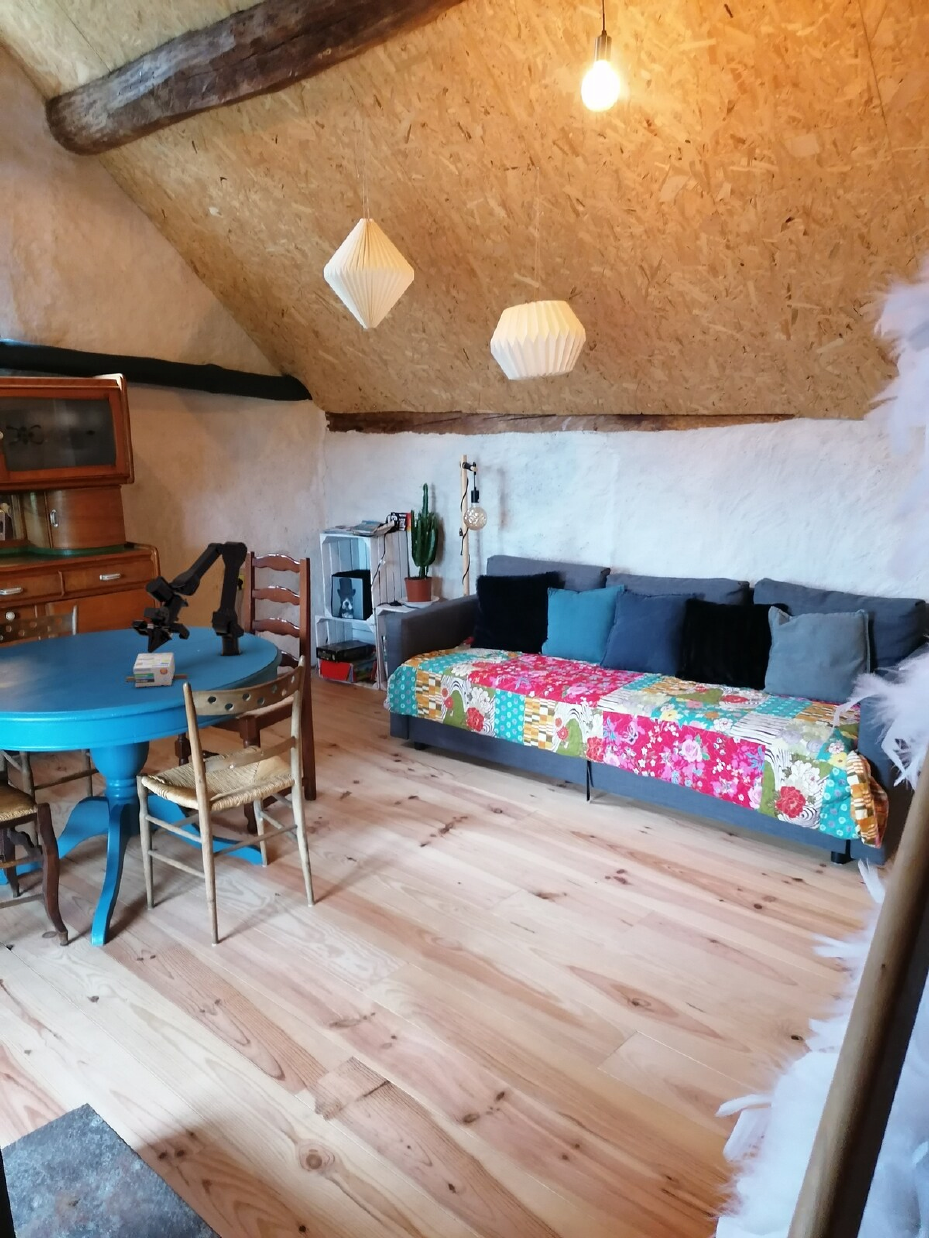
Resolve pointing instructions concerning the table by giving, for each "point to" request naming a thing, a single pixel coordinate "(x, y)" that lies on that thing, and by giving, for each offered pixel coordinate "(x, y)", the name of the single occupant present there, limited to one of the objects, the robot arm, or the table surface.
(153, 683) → the light bulb box
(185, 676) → the ledge strip
